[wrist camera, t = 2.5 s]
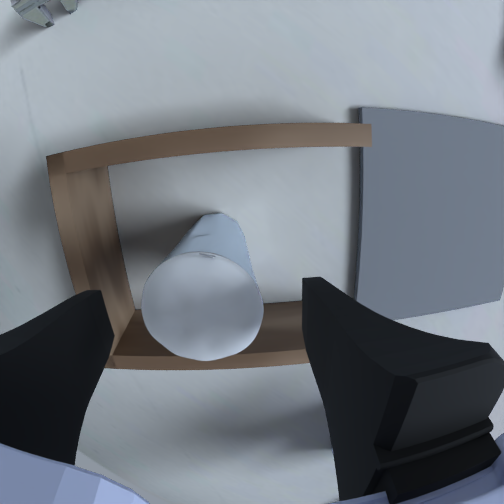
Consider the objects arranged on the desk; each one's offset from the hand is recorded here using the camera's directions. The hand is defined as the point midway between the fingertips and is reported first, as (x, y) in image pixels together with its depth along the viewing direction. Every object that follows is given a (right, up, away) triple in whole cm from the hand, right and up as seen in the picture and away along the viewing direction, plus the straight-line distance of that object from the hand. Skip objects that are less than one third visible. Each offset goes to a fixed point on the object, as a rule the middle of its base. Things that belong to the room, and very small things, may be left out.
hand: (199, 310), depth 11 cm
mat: (+15, +4, +8) cm, 18 cm away
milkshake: (0, +3, +8) cm, 9 cm away
